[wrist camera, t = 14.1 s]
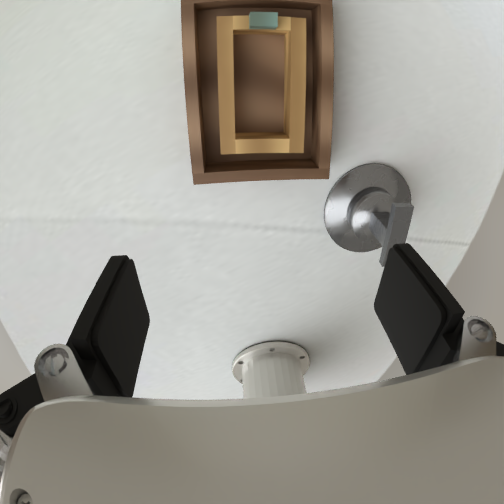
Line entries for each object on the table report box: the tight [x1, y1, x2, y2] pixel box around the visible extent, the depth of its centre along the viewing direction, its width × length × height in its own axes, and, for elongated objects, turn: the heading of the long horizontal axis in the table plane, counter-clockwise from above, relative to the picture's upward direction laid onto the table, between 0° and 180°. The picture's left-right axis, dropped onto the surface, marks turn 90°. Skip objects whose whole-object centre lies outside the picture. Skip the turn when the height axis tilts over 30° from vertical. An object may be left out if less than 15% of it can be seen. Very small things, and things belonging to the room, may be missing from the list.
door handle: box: [324, 164, 414, 266], centre depth 29 cm, size 11×11×7 cm
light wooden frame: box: [217, 12, 306, 154], centre depth 21 cm, size 7×12×4 cm, turn 0°
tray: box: [181, 0, 334, 185], centre depth 22 cm, size 17×12×4 cm
